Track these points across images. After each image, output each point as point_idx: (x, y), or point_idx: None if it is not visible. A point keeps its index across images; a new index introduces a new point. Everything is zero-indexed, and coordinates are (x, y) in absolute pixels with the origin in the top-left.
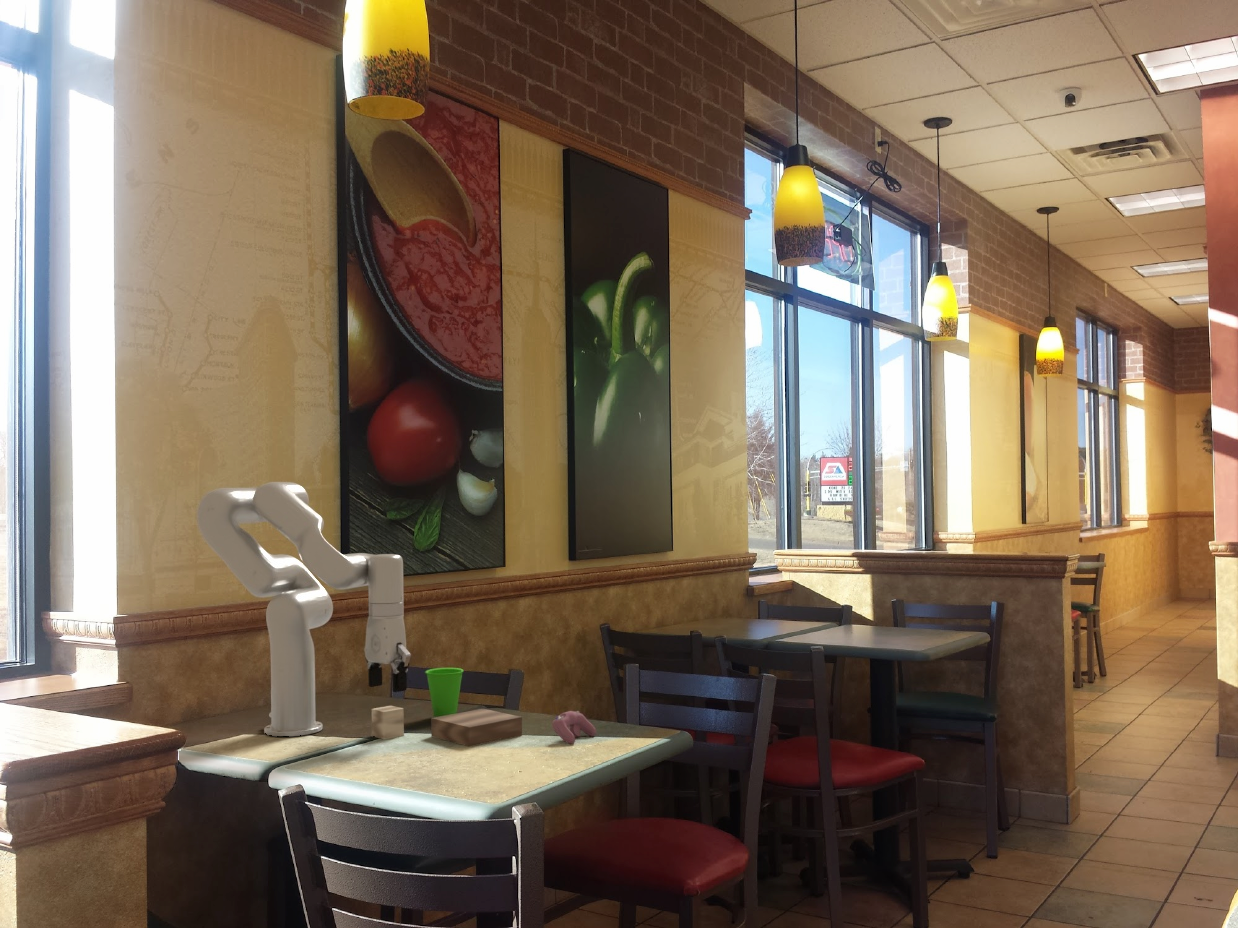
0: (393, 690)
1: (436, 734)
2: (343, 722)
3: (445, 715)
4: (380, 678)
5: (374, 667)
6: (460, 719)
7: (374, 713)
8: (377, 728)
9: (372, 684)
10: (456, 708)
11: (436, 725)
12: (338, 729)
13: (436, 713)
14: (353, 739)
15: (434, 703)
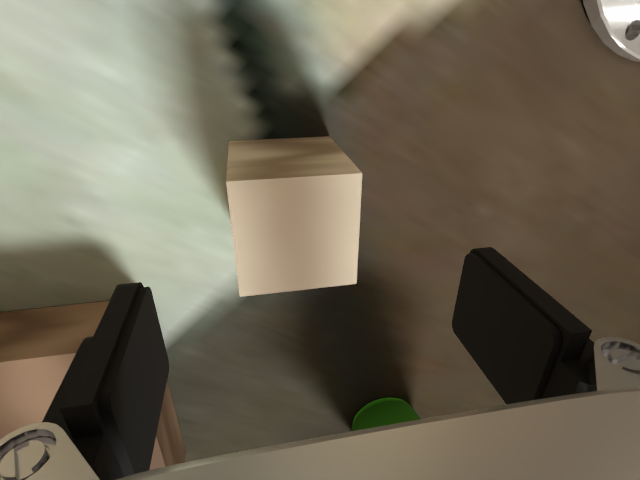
0: (123, 286)
1: (104, 308)
2: (607, 174)
3: (358, 421)
4: (476, 348)
5: (560, 382)
6: (13, 414)
7: (327, 168)
8: (286, 148)
9: (470, 270)
10: None
11: (94, 332)
12: (541, 97)
13: (384, 410)
14: (329, 35)
15: None
